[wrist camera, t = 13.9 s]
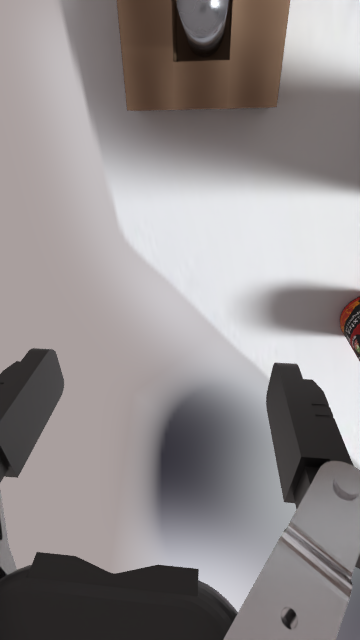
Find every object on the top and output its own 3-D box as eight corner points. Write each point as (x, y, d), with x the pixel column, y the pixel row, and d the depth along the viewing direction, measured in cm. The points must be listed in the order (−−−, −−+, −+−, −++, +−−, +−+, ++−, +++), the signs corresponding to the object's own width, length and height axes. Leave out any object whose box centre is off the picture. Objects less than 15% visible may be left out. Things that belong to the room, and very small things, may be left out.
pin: (224, 6, 26) (231, -43, 18) (222, 56, 28) (227, 32, 20) (187, 8, 26) (175, -40, 18) (187, 57, 28) (177, 34, 20)
